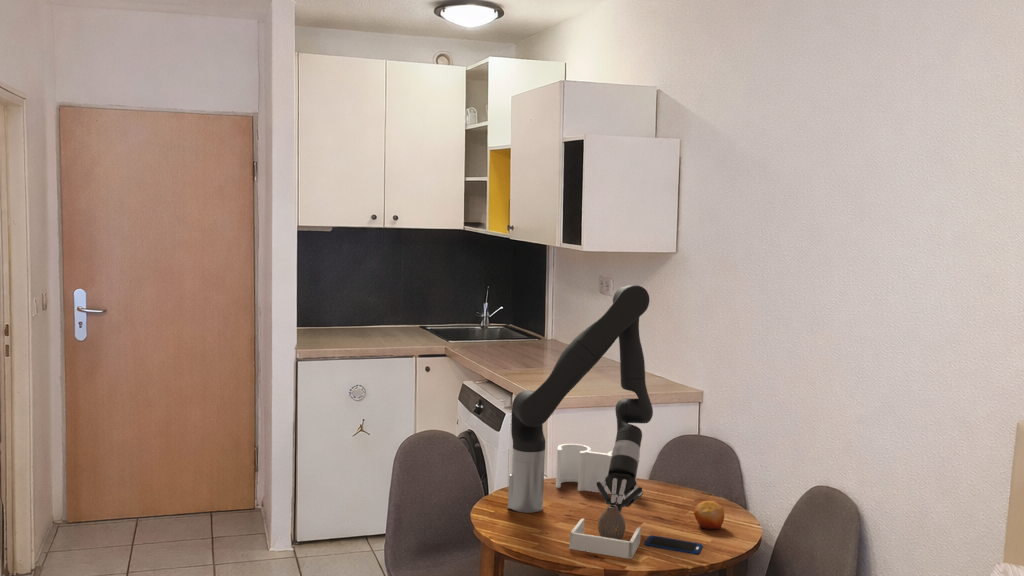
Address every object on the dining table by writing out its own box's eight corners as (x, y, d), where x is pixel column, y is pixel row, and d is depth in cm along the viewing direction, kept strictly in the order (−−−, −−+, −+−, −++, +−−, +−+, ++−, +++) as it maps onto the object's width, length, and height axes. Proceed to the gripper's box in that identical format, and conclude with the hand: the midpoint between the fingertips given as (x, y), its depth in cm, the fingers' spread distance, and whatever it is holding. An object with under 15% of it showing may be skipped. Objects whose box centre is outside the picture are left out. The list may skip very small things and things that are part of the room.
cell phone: (698, 556, 204) (698, 553, 204) (643, 546, 209) (643, 543, 209) (703, 546, 211) (703, 543, 211) (649, 537, 216) (649, 534, 216)
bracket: (638, 490, 255) (640, 452, 255) (631, 499, 246) (633, 459, 246) (561, 479, 264) (563, 442, 263) (552, 487, 255) (554, 448, 254)
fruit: (725, 517, 229) (725, 497, 224) (722, 539, 223) (722, 519, 218) (696, 513, 231) (695, 493, 227) (692, 535, 225) (692, 515, 221)
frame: (569, 548, 204) (569, 532, 204) (580, 533, 216) (581, 518, 215) (631, 559, 199) (632, 542, 199) (640, 542, 210) (640, 527, 210)
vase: (594, 542, 210) (596, 508, 209) (600, 533, 216) (602, 500, 216) (621, 546, 207) (623, 512, 207) (626, 537, 214) (628, 504, 213)
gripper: (599, 450, 225) (587, 508, 214) (647, 456, 221) (638, 515, 210) (602, 465, 231) (591, 521, 220) (649, 470, 226) (640, 529, 216)
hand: (614, 518), depth 215 cm, fingers closed
